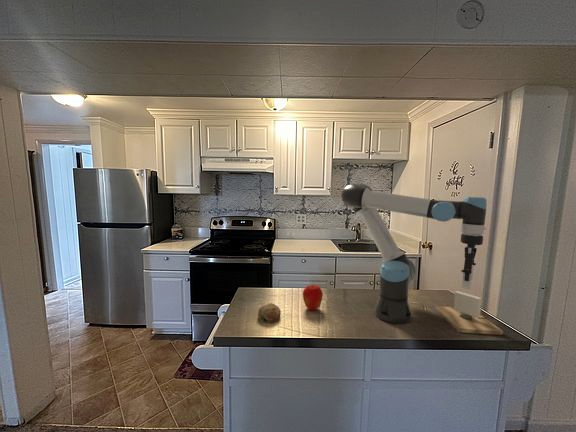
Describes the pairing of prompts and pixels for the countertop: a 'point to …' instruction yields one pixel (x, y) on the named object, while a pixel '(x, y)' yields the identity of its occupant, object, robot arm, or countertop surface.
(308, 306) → the apple
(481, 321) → the light wood flat board
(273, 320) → the bread roll
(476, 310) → the cream piece
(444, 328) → the countertop surface
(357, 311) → the countertop surface
